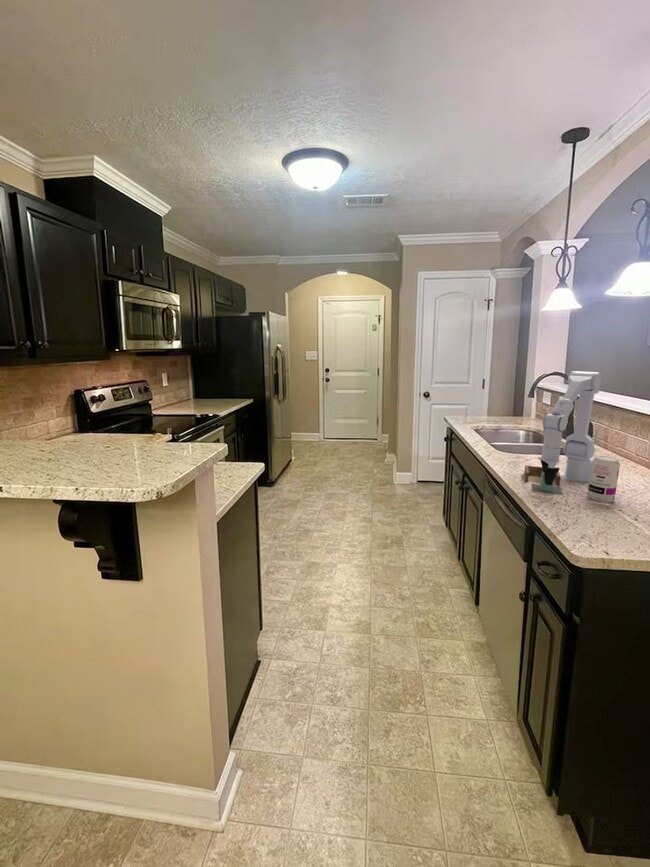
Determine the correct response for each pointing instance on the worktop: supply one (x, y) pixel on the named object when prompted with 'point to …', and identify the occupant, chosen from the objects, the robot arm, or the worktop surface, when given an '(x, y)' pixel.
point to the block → (542, 484)
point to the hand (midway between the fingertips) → (547, 481)
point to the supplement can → (603, 478)
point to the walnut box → (537, 475)
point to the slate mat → (537, 489)
